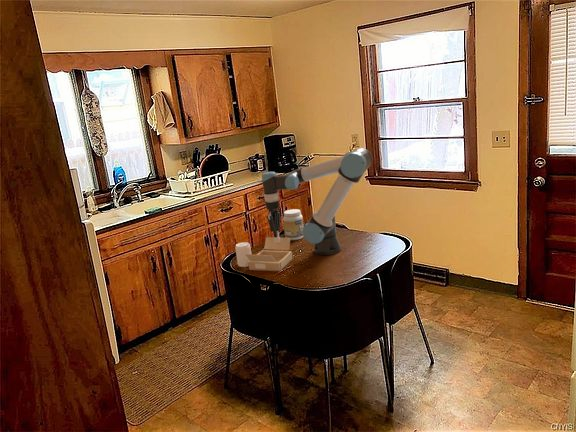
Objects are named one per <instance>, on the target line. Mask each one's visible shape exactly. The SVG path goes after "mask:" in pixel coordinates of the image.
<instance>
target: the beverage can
mask: <svg viewBox="0 0 576 432" xmlns="http://www.w3.org/2000/svg"><path fill="white" fill-rule="evenodd" d="M234 249H235V255H236V262H237V266H238V267H241V268H249V264H248V262H249V259H248V258H247V256H246V255H245V254H252V250H251V249H252V248H251V244H250V243H249V242H246V241H243V242H238V243H236V244H235V248H234Z"/></svg>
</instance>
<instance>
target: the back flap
mask: <svg viewBox="0 0 576 432" xmlns="http://www.w3.org/2000/svg"><path fill="white" fill-rule="evenodd" d="M279 238H280V242H279V243H275V242H274V236H266V237H265V242H264V249H263V250H273V251H290V247H291V240H290V239H291V238H286V237H280V236H279Z"/></svg>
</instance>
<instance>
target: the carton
mask: <svg viewBox="0 0 576 432" xmlns="http://www.w3.org/2000/svg"><path fill="white" fill-rule="evenodd" d="M256 255H272V257H273V258H274V259H275V260H276V262H266V261H250V260H249V262H248V264H249V266H248V269H249V270H250V271H264V272H279V273H280V272H281V271H282V270H284V268H285V267H286V266H287V265H288V264H290V263H291V262H292V261H293V259H294V257H293V251H291V250H267V249H262V250H261V251H259V252H258V253H257V254H256Z"/></svg>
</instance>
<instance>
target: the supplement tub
mask: <svg viewBox="0 0 576 432" xmlns="http://www.w3.org/2000/svg"><path fill="white" fill-rule="evenodd" d="M282 222H283V229H284V236H285V237H284V238H291V239H290V241H298V240H301V239H303V238H304V236H303V233H302V230H303V227H304V226H305V224H304V218H303V215H302V212H301V209H295V208H293V209H292V208H291V209H287V210H285V211H283V218H282Z"/></svg>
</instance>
